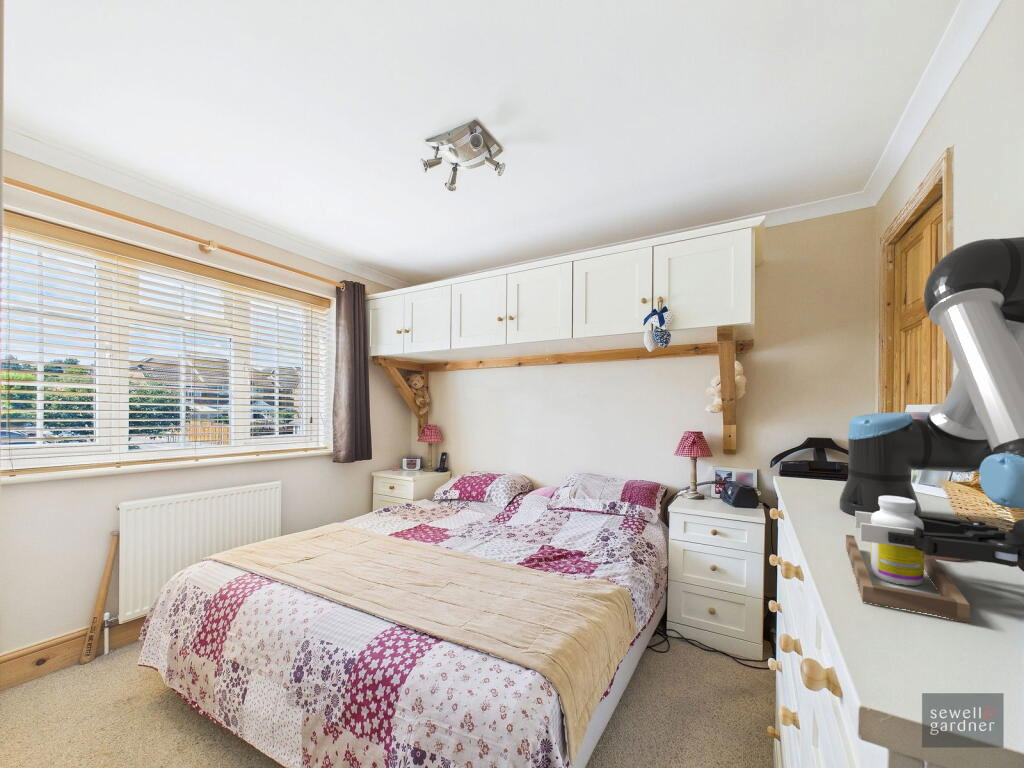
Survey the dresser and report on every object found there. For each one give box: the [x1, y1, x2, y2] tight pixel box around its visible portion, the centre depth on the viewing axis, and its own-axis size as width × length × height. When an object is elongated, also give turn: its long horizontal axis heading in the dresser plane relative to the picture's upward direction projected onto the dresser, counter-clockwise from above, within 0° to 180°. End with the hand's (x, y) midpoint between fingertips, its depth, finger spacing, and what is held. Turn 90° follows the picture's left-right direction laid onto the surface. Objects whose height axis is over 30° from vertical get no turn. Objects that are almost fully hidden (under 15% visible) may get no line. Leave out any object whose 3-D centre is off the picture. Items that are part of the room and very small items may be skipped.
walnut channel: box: [845, 534, 971, 624], centre depth 76 cm, size 25×11×2 cm, turn 149°
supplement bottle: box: [870, 496, 925, 586], centre depth 76 cm, size 7×7×13 cm
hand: (858, 525), depth 79 cm, fingers closed on supplement bottle, 7 cm apart
